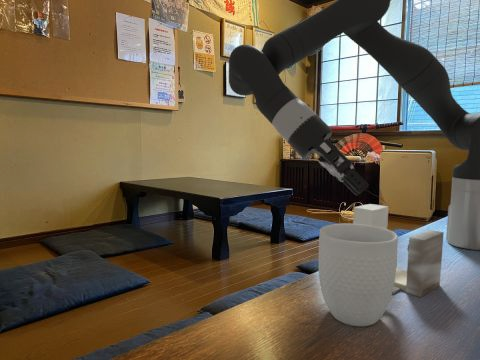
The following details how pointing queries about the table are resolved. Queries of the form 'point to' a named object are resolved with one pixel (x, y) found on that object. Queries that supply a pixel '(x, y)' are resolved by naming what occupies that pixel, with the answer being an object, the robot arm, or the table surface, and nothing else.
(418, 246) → the gauge base
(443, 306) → the table surface
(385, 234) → the mug
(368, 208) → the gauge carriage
